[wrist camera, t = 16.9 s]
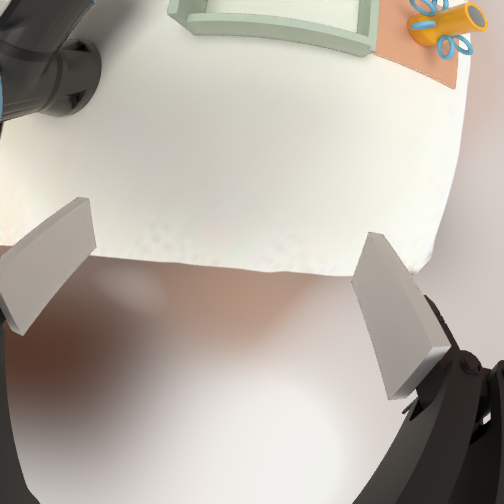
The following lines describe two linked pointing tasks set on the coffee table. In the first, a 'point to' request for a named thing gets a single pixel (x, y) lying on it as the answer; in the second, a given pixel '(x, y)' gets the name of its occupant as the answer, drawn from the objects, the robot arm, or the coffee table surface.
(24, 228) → the coffee table surface
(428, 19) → the orange tube
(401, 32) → the terracotta tile
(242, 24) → the box
